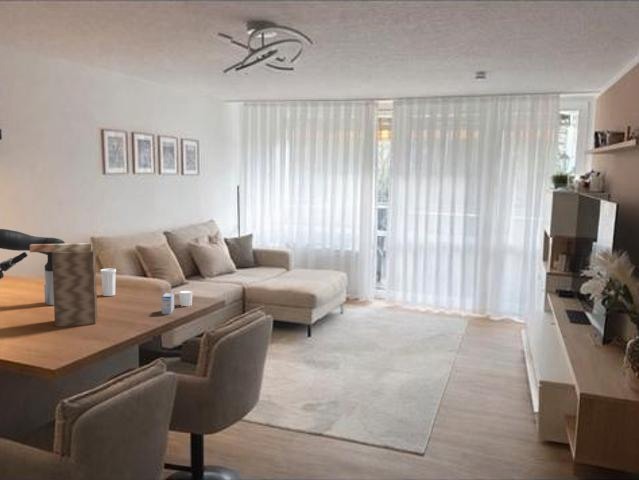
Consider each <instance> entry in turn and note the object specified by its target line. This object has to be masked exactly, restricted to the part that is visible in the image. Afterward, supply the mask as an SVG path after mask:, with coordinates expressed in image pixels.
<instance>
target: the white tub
mask: <svg viewBox="0 0 639 480" xmlns="http://www.w3.org/2000/svg"><path fill="white" fill-rule="evenodd" d="M178 295H179V296H178V297H179V304H180V305H181V306H180V305H179V306H180V307H183V306H188V307H191V306H192V305H193V291H192V290H180V291H178ZM190 305H191V306H190Z"/></svg>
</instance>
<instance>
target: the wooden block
mask: <svg viewBox="0 0 639 480" xmlns="http://www.w3.org/2000/svg"><path fill="white" fill-rule="evenodd" d="M92 249H93V243H92V242H86V243H85V242H79V243H78V242H77V243H74V242H73V243H65V244H31V245H30V251H29V252H30V253H38V252H65V251H92Z"/></svg>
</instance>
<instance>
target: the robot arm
mask: <svg viewBox="0 0 639 480" xmlns="http://www.w3.org/2000/svg"><path fill="white" fill-rule="evenodd" d="M31 244H66V242H65V240H63V239H61V238H56V237H47V236H46V237H42V236H34V235H30V234H27V233H23V232H21V231H17V230H10V229H4V228H0V249H1V250H9V251H19V252H21V251H22V253H20V254H18V255H14V257H10V258H9V259H6V260H4V261H2V262H0V280H1V279H3V278H4V272H7V271H9V270H10V269H12V268H13V267H15V266H16V265H17V264H18V263H20V262H21V261H22V260H24V259H25V258H27V257H28V253H27V252H26V251H29V252H30V245H31ZM37 253H40V254H42V255H46V256H47V262H46V263H45V264H44V282H45V283H44V302H45V303H44V304H46V305H47V306H54V290H53V266H52V253H53V252H37Z"/></svg>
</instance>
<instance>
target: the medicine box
mask: <svg viewBox="0 0 639 480" xmlns="http://www.w3.org/2000/svg"><path fill="white" fill-rule="evenodd" d="M173 310H174V311H175V293H174V292H173V293H172V292H165V293H164V294H163V295H162V296H161V315H172V314H173V312H174V311H173Z"/></svg>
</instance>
